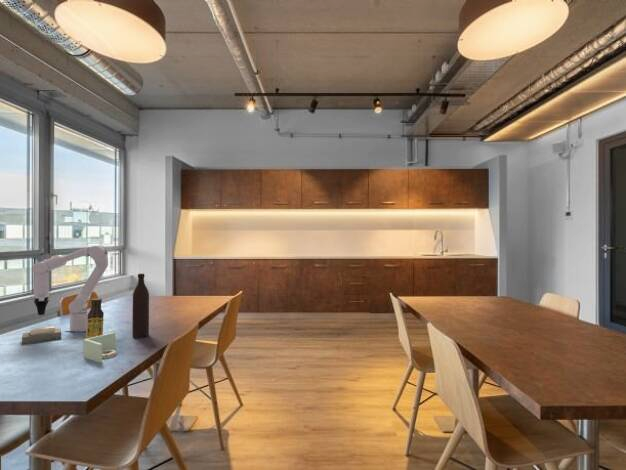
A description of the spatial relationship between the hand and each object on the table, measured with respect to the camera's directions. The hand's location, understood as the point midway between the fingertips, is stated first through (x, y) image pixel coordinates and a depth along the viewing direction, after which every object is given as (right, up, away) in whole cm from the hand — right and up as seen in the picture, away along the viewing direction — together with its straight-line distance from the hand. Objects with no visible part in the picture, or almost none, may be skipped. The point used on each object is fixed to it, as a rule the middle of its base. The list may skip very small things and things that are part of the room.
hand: (41, 313), depth 169 cm
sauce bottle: (+37, -10, -16) cm, 42 cm away
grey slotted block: (+9, -9, -11) cm, 17 cm away
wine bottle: (+52, -10, -5) cm, 53 cm away
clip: (+9, -9, -11) cm, 17 cm away
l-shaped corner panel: (+52, -10, -31) cm, 61 cm away
